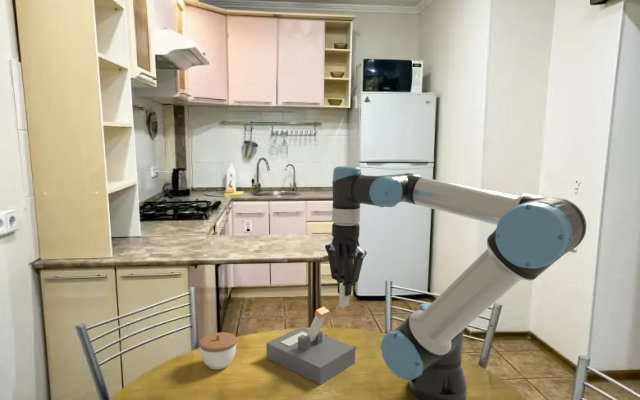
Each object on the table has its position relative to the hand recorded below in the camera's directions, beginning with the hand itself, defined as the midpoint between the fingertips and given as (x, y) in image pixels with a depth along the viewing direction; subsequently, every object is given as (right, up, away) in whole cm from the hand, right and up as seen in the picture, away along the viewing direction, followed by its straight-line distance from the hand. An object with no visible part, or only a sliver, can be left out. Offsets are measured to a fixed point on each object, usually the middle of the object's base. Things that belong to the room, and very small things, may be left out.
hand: (344, 305), depth 118 cm
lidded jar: (-37, -20, +8) cm, 43 cm away
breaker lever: (-10, -13, +10) cm, 19 cm away
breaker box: (-10, -20, +11) cm, 24 cm away
